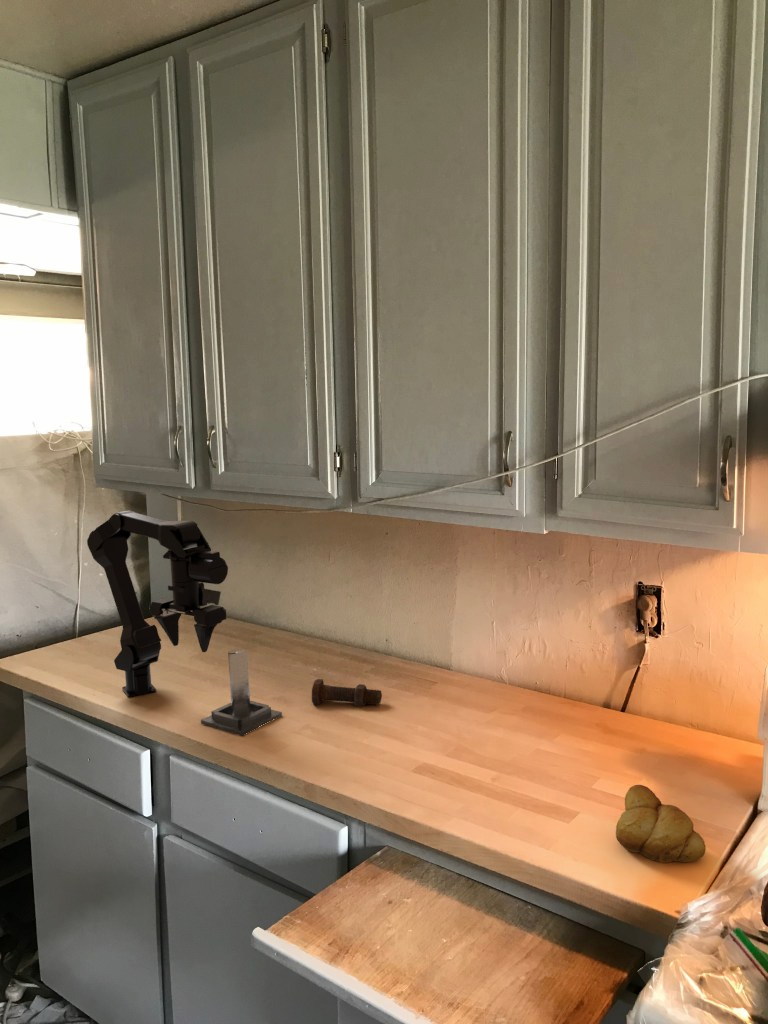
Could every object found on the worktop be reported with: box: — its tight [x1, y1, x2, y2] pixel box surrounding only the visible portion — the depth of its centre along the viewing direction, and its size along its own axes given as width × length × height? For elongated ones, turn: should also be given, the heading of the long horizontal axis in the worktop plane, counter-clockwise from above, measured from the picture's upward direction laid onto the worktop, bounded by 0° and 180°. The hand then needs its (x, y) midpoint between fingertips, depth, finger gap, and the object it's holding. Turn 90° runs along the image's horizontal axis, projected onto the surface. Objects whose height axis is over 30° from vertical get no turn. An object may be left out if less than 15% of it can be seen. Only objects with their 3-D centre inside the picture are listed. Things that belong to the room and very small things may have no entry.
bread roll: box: [615, 784, 707, 863], centre depth 123 cm, size 13×10×8 cm
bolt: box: [311, 678, 383, 708], centre depth 184 cm, size 6×5×15 cm
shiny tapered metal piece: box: [227, 648, 251, 718], centre depth 176 cm, size 4×4×14 cm
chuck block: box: [200, 700, 283, 737], centre depth 177 cm, size 12×12×2 cm
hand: (190, 648), depth 184 cm, fingers open, 9 cm apart
